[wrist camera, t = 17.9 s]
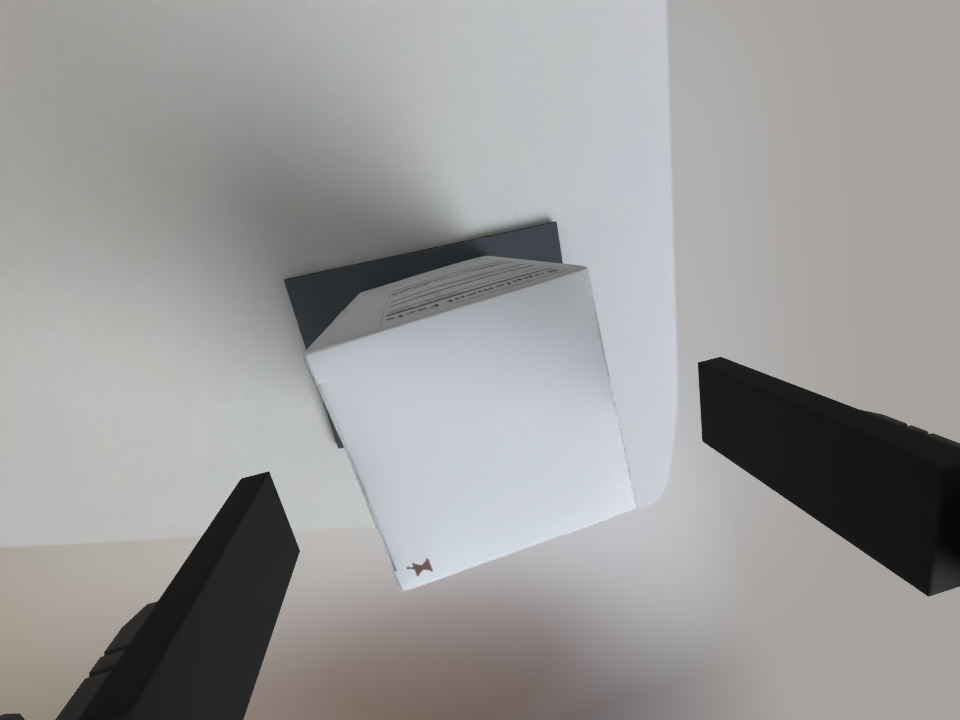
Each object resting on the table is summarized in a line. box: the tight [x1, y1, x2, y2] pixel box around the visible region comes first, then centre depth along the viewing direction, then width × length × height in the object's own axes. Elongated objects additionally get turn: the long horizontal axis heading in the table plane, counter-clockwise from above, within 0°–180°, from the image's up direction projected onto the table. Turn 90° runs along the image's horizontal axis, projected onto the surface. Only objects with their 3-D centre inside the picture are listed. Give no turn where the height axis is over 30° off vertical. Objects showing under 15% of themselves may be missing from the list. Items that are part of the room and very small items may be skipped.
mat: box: [284, 222, 562, 448], centre depth 31 cm, size 18×12×1 cm, turn 102°
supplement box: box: [304, 256, 636, 591], centre depth 22 cm, size 10×9×17 cm
